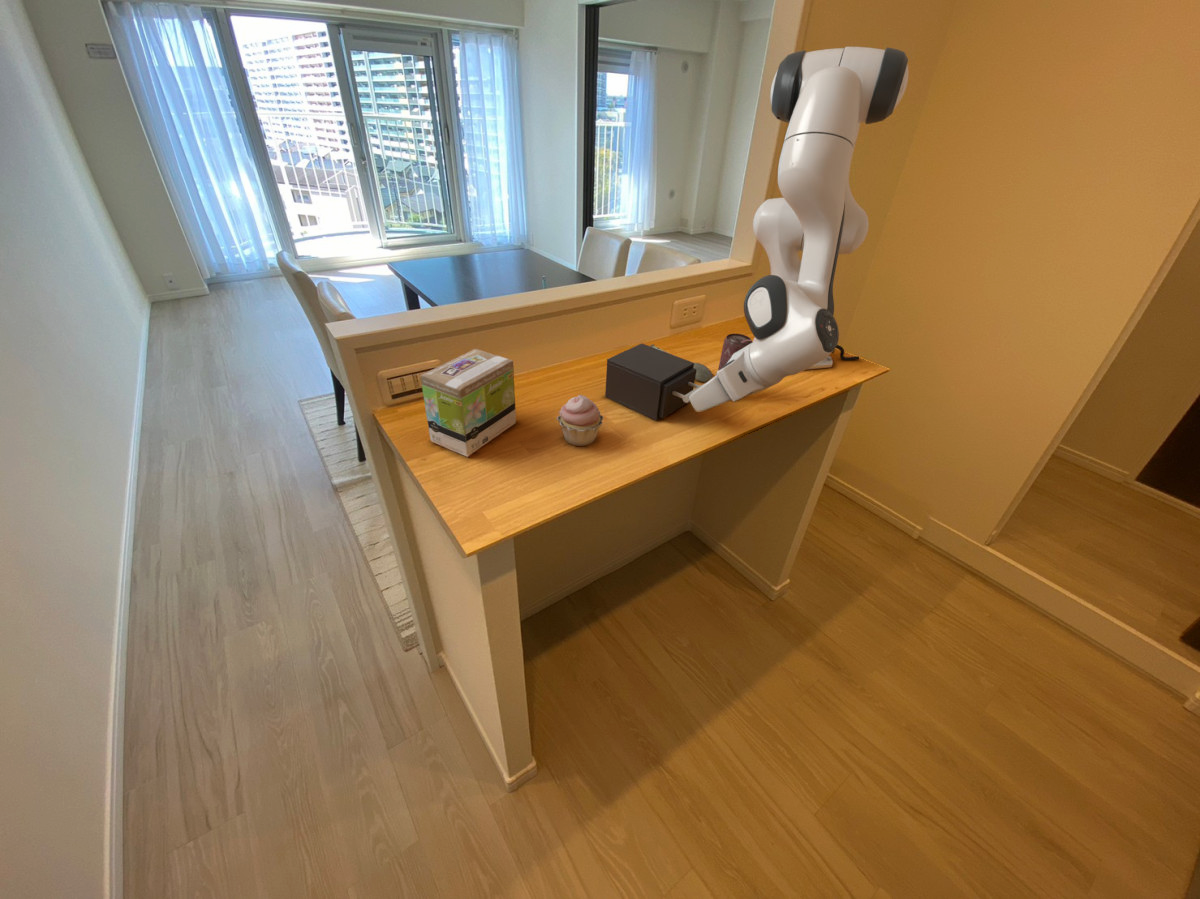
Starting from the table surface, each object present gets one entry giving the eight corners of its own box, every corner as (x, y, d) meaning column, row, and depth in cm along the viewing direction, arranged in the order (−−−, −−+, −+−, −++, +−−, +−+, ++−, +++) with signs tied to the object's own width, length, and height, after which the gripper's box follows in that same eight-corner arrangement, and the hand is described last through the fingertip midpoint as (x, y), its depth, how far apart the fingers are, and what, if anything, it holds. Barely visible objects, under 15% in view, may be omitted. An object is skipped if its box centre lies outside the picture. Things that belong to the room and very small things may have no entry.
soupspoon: (697, 387, 121) (716, 382, 124) (700, 375, 119) (719, 370, 122) (642, 351, 134) (660, 347, 138) (644, 340, 132) (662, 336, 136)
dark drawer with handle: (707, 406, 110) (713, 375, 105) (679, 426, 103) (684, 393, 98) (644, 380, 119) (647, 350, 115) (614, 396, 112) (616, 365, 107)
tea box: (469, 459, 92) (459, 389, 83) (430, 442, 96) (416, 374, 87) (518, 423, 103) (514, 358, 94) (480, 409, 107) (473, 346, 98)
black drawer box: (688, 400, 114) (694, 362, 108) (656, 421, 106) (661, 381, 100) (638, 379, 121) (641, 343, 116) (605, 397, 113) (607, 359, 108)
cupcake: (556, 425, 103) (555, 383, 97) (600, 425, 104) (602, 383, 98) (556, 451, 95) (556, 407, 89) (604, 450, 96) (607, 406, 90)
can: (741, 401, 115) (754, 344, 106) (713, 397, 115) (725, 341, 107) (740, 388, 119) (753, 334, 111) (714, 385, 120) (725, 331, 112)
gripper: (768, 339, 99) (717, 369, 110) (717, 371, 86) (665, 401, 97) (783, 366, 99) (731, 393, 110) (735, 402, 86) (681, 428, 97)
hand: (700, 397), depth 103 cm, fingers closed, pressing on dark drawer with handle
